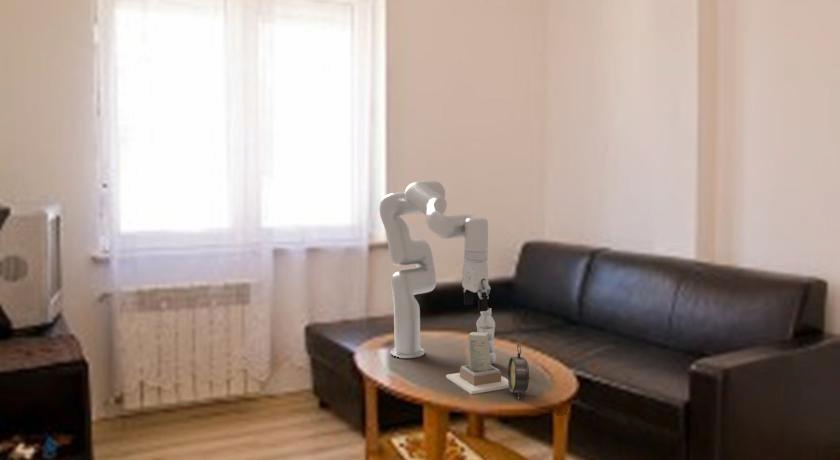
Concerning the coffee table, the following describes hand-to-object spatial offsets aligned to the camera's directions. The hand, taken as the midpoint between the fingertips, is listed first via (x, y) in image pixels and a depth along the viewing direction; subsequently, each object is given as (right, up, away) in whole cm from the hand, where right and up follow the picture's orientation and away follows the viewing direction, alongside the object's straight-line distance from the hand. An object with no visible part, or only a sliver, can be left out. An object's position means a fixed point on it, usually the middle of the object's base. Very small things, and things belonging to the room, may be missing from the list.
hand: (475, 307), depth 244 cm
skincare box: (+1, -21, +2) cm, 21 cm away
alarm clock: (+13, -26, -11) cm, 31 cm away
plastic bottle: (+5, -22, +21) cm, 31 cm away
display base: (+2, -25, +2) cm, 25 cm away
